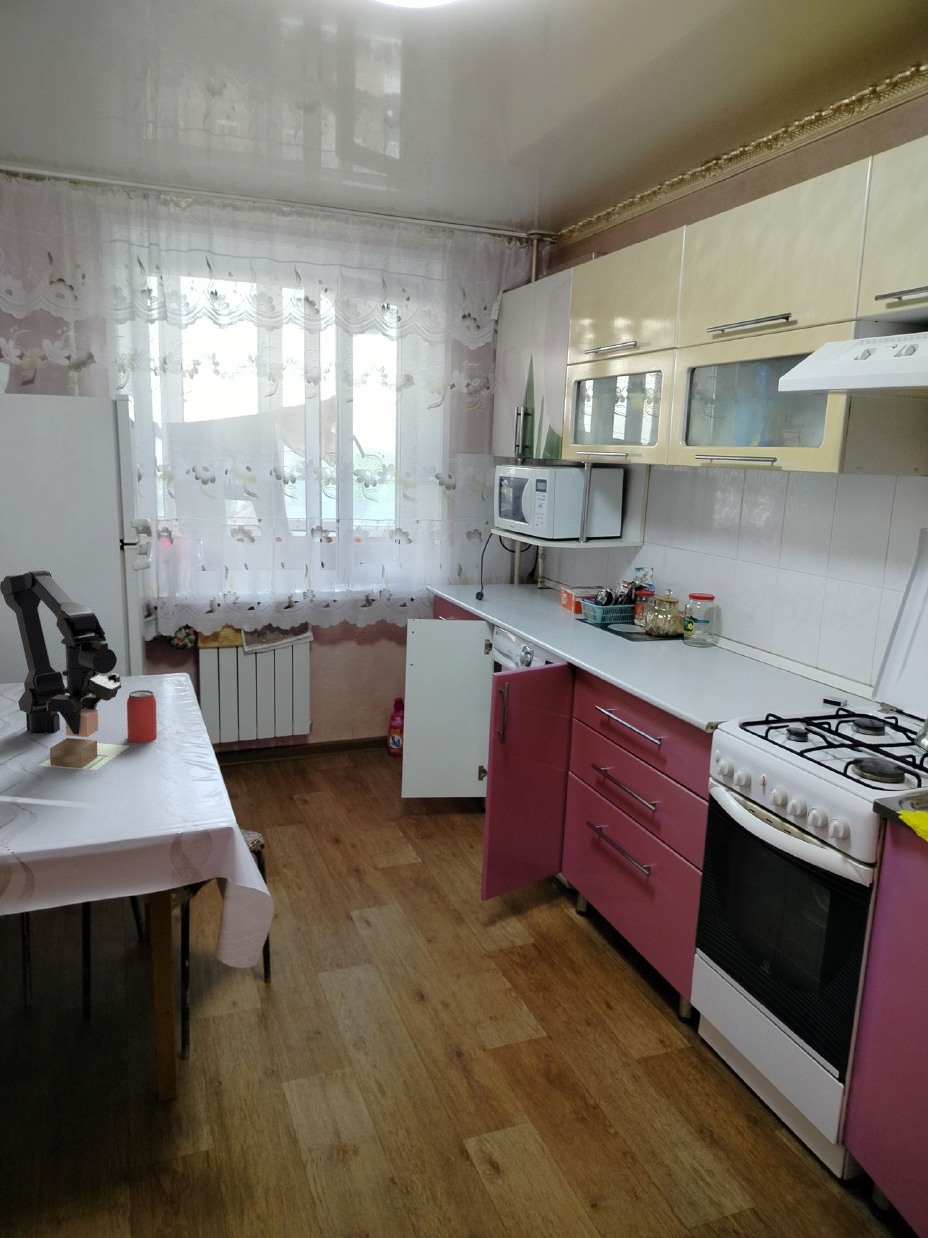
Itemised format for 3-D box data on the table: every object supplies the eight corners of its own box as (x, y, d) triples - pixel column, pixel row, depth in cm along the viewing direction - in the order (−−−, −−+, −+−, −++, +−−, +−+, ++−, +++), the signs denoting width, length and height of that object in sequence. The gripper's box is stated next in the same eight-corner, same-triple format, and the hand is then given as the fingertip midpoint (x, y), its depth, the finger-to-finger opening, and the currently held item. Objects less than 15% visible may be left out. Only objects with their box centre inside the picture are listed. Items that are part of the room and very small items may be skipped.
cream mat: (38, 769, 185) (38, 765, 185) (77, 744, 201) (76, 741, 201) (95, 773, 184) (95, 770, 184) (130, 749, 200) (130, 745, 200)
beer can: (147, 746, 202) (146, 698, 200) (122, 743, 203) (120, 695, 201) (162, 738, 208) (161, 691, 206) (137, 735, 210) (136, 688, 207)
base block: (50, 765, 185) (49, 748, 185) (67, 754, 192) (67, 738, 191) (81, 768, 185) (80, 750, 184) (97, 757, 192) (97, 740, 191)
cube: (66, 735, 195) (65, 714, 194) (77, 728, 199) (76, 708, 198) (87, 737, 194) (86, 716, 193) (98, 730, 199) (97, 709, 198)
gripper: (93, 678, 184) (95, 746, 187) (133, 658, 202) (134, 721, 205) (43, 674, 185) (46, 742, 188) (88, 655, 203) (90, 717, 206)
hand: (82, 730), depth 197 cm, fingers closed on cube, 5 cm apart
